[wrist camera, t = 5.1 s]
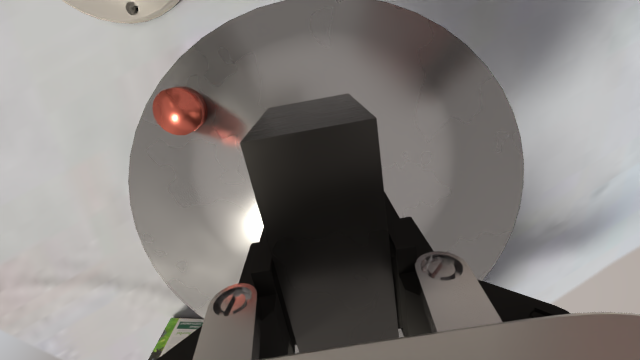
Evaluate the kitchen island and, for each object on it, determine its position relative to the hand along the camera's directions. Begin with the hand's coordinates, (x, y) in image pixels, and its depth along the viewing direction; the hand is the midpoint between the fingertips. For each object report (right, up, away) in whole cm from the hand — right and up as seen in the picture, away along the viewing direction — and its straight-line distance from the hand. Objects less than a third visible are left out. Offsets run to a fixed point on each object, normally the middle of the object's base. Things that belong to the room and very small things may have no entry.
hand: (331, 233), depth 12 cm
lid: (0, +1, +2) cm, 2 cm away
